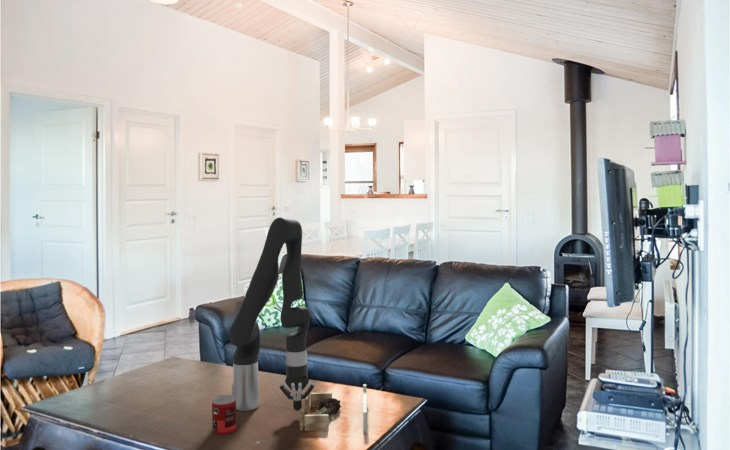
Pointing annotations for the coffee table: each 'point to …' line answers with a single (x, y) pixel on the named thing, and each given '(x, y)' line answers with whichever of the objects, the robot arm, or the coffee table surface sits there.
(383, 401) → the coffee table surface
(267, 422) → the coffee table surface
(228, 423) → the canned food
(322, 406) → the dark elongated piece
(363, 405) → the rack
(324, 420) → the socket block
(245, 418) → the coffee table surface
